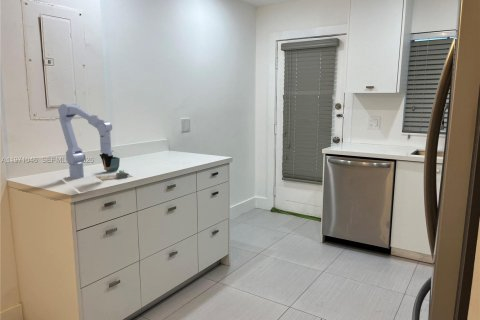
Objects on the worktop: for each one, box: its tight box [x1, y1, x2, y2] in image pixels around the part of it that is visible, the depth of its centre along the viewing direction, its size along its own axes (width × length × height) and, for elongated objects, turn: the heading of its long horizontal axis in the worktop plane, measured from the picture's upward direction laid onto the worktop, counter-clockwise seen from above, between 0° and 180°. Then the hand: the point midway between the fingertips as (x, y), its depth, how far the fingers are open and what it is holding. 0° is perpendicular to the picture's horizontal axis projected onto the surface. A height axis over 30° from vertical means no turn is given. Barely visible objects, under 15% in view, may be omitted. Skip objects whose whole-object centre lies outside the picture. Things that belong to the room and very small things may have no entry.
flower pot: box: [102, 156, 121, 173], centre depth 235 cm, size 9×9×9 cm
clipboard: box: [95, 172, 134, 182], centre depth 217 cm, size 14×18×1 cm
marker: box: [103, 158, 110, 171], centre depth 208 cm, size 3×3×7 cm
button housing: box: [115, 171, 129, 180], centre depth 215 cm, size 5×5×2 cm
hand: (106, 166), depth 209 cm, fingers closed on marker, 3 cm apart
